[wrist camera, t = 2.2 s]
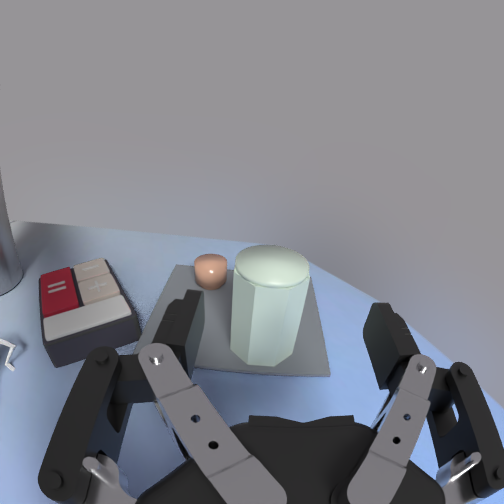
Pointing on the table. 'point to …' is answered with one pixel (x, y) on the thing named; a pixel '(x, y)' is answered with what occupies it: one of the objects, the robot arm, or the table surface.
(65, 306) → the calculator
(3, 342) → the white toy table
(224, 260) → the pink pebble
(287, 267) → the pale green faceted cylinder
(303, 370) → the mat
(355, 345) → the table surface
